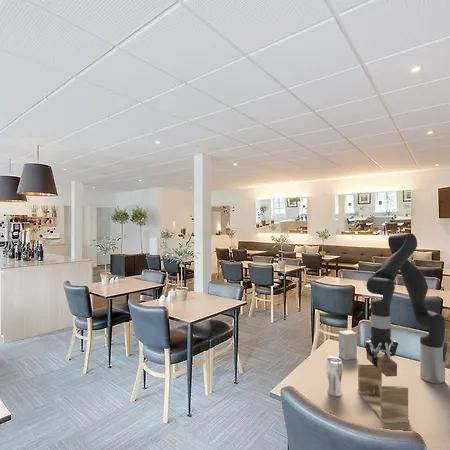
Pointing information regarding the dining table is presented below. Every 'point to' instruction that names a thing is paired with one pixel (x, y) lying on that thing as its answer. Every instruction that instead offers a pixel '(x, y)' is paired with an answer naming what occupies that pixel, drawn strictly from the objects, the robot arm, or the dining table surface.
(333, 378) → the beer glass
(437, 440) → the dining table surface
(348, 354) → the skincare box
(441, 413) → the dining table surface
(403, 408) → the peg jig
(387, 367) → the shelf board
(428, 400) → the dining table surface
